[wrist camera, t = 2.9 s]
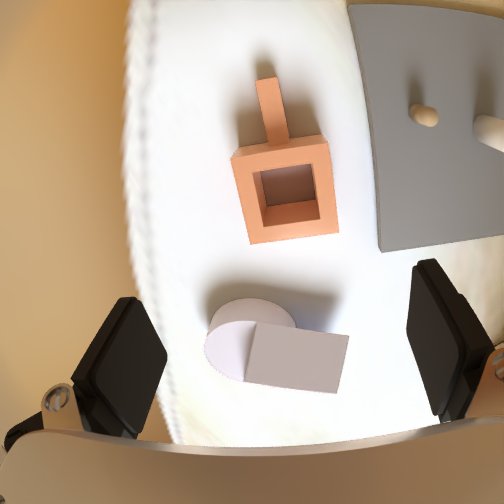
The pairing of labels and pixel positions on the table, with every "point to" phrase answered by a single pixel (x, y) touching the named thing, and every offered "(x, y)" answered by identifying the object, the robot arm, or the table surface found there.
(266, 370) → the wedge on round base
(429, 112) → the dowel pin
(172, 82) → the table surface
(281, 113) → the square frame with post
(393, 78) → the base plate
